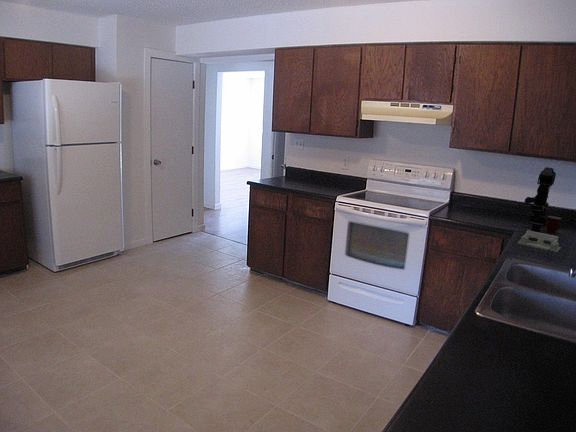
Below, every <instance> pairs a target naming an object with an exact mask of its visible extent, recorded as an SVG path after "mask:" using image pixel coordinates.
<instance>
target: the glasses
mask: <svg viewBox="0 0 576 432" xmlns="http://www.w3.org/2000/svg"><path fill="white" fill-rule="evenodd" d="M527 236H528V237H529V238H531V239H532V238H533V239H542V240H544V241H546V242H549V243H552V242H553V244H556V243H557V242H558V241H559V236H557V235H552V234H548V233H542V232H540V233H539V232H534V231H530V229H529V230H528V229H527V230H526V232H525V234H524V238H526V237H527ZM558 243H559V242H558Z"/></svg>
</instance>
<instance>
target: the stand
mask: <svg viewBox="0 0 576 432" xmlns="http://www.w3.org/2000/svg"><path fill="white" fill-rule="evenodd" d="M524 235H525V234H524ZM524 235H522V236H520V240H519V241H517V245H522V246H527V247H530V246H531V247H532V248H535V249H539V248H540V249H539V250H543V249H544V251H548V250H550V251H549V252H552V251H554V252H553V253H556V252H557V253H558V252H559V251H560V250H561V248H562V247H561V246H559V244H560V242H557V243H556V244H553V242H550V244H548V243H545V240H542V239H538V238H536V239H537V240H536V241H535V240H530V237H528V236H527V237H526V238H524Z"/></svg>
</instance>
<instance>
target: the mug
mask: <svg viewBox="0 0 576 432" xmlns="http://www.w3.org/2000/svg"><path fill="white" fill-rule="evenodd" d="M546 219H547V221H546V226H545V228H546V231H547V232H546V233H550V234H556V232H557V231H558V230H559V227H560V225H561V223H562V219H563V218H562V217H559V216H552V215H548V216H547V217H546Z"/></svg>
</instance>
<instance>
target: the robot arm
mask: <svg viewBox="0 0 576 432" xmlns="http://www.w3.org/2000/svg"><path fill="white" fill-rule="evenodd" d="M554 170H555V169H554V168H552V167H547V166H546V167H544V169H543V170H541V171H540V173H539V174H538V179H537V183H536V184H537V185H538V187H537V189H536V194H535V196H533V197H531V196H526V198H524V202H525V203H524V204H525V205H528V204H531V205H530V209H531V211H532V213H531V214H530V218H529V222H528V224H529V225H530V229H529V231H534V232H539V233H541V230H542V227H543V228H544V227H546V222H547V217H546V211H547V209H548V208H549V205H550V204H549V202H548V199H549V193H550V189H551V187H552V186H553V185H555V180H556V176H557V173H556V171H554Z"/></svg>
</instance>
